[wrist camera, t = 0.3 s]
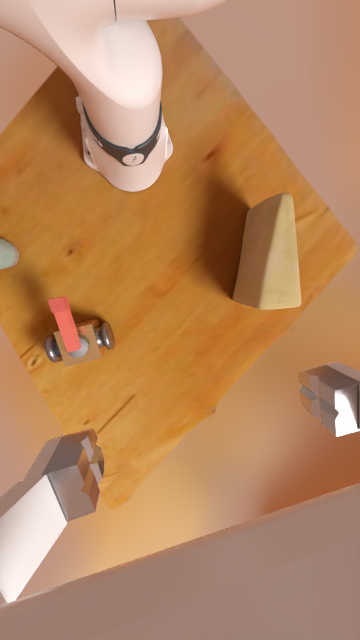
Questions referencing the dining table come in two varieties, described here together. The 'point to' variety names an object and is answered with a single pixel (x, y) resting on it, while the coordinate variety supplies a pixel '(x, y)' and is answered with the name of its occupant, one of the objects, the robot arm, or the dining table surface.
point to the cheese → (269, 256)
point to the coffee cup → (8, 254)
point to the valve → (88, 330)
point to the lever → (68, 327)
